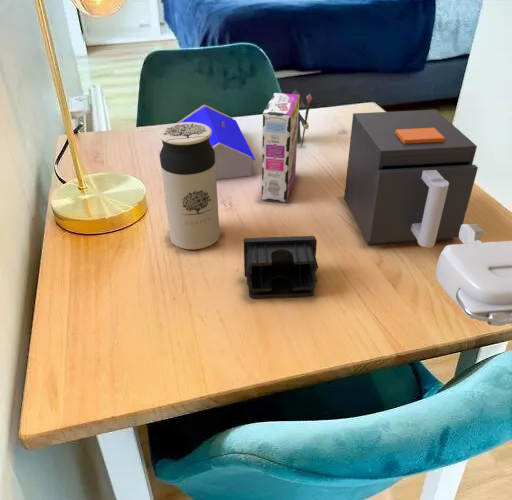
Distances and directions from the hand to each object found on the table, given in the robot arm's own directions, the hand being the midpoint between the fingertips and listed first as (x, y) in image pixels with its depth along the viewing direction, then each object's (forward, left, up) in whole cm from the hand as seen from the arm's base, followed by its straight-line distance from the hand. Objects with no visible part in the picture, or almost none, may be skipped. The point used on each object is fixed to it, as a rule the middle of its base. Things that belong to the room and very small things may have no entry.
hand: (509, 226), depth 53 cm
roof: (+30, -58, -17) cm, 68 cm away
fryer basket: (0, -25, -16) cm, 30 cm away
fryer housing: (0, -29, -17) cm, 34 cm away
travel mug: (+34, -27, -17) cm, 47 cm away
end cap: (+22, -14, -17) cm, 31 cm away
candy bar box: (+18, -42, -17) cm, 49 cm away
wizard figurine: (+11, -63, -17) cm, 66 cm away
